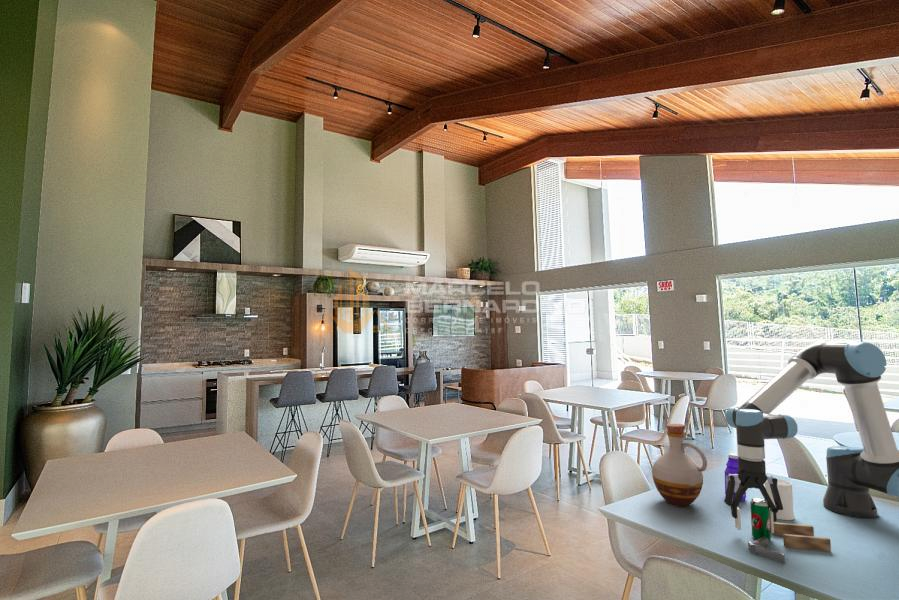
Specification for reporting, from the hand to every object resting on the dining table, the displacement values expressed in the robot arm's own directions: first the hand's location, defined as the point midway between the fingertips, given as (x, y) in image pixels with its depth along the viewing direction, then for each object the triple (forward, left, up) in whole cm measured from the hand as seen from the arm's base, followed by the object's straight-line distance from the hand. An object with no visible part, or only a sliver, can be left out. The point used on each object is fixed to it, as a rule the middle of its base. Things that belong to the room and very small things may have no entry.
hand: (754, 529), depth 146 cm
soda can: (-2, 0, -3) cm, 3 cm away
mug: (-15, -21, -3) cm, 26 cm away
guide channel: (-12, 0, -2) cm, 13 cm away
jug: (+16, -26, -3) cm, 30 cm away
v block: (+2, +11, -2) cm, 11 cm away
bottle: (-7, -37, -3) cm, 38 cm away
